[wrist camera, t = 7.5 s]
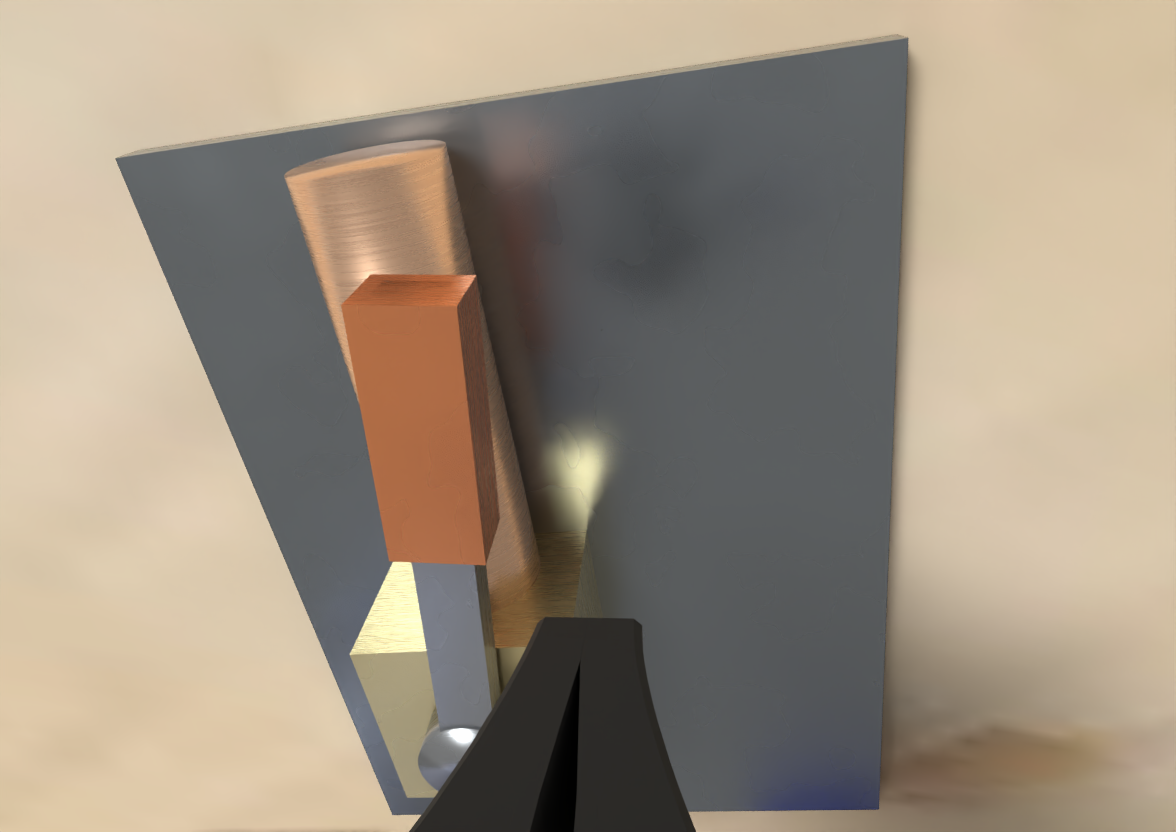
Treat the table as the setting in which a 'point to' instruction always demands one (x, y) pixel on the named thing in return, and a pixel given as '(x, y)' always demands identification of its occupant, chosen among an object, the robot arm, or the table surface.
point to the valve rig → (592, 387)
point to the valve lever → (434, 481)
